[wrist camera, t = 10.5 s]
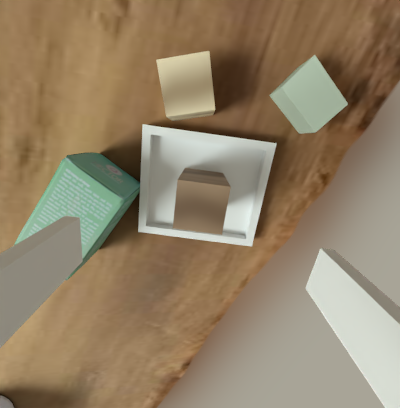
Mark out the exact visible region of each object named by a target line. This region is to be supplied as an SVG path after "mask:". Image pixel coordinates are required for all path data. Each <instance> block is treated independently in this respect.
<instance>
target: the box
mask: <svg viewBox="0 0 400 408" xmlns="http://www.w3.org/2000/svg"><path fill="white" fill-rule="evenodd" d="M139 192H140V182H138V181H137V180H136V179H134V178H133V177H132V176H130V175H129V174H128V173H126V172H125V171H123V170H122V169H121V168H119V167H118V166H116V165H115V164H114V163H112V162H111V161H110V160H108V159H107V158H106V157H105V156H103V155H101V154H99V153H81V154H74V155H67V157H66V158H64V159H63V160H62V162H61V164H60V165H59V167H58V169H57V171H56V173H55V175H54V176H53V178H52V180H51V182H50V184H49V185H48V187H47V189H46V191H45V192H44V194H43V196H42V197H41V199H40V201H39V203H38V204H37V206H36V208H35V209H34V211H33V213H32V214H31V216H30V218H29V220H28V221H27V223H26V225H25V226H24V228H23V230H22V231H21V233H20V235H19V236H18V238H17V240H16V242H15V244H14V245H16V244H18V243H19V242H21V241H23V240H24V239H26V238H28V237H30V236H31V235H33V234H35V233H36V232H38V231H40V230H42V229H43V228H45V227H47V226H48V225H50V224H52V223H54V222H55V221H57V220H59V219H60V218H62V217H64V216H71V217H79V218H80V229H81V244H82V259H83V262H82V263H81V264H80V265H79V266H78V267H77V268H76V269H75V270H74V271H73V272H72V273H71V274H70V275H69V276H68V277H67V278H66V279H65V280H68V279H69V278H70V277H71V276H72V275H73V274H74V273H75V272H76V271H77V270H78V269H79V268H80V267H82V266H83V265H84V264H85V263H86V262H87V261H88V260H89V259H90V258H91V257H92V256H93V254H94V253H95V252H97V250H98V249H99V248H100V247H101V245H102V244H103V243H104V241H105V240H106V238H107V237H108V236H109V234H110V233H111V232H112V230H113V229H114V227H115V226H116V225H117V223H118V222H119V220H120V219H121V218H122V216H123V215H124V213H125V212H126V211H127V209H128V208H129V206H130V205H131V203H132V202H133V201H134V199H135V198H136V196H137V195H138V194H139Z"/></svg>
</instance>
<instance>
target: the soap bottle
mask: <svg viewBox="0 0 400 408" xmlns="http://www.w3.org/2000/svg"><path fill="white" fill-rule="evenodd" d="M0 408H14V407H13V403H12V402H11V401H10V400H9V399H7V398H6V397H4V396H1V395H0Z"/></svg>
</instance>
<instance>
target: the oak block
mask: <svg viewBox="0 0 400 408" xmlns="http://www.w3.org/2000/svg"><path fill="white" fill-rule="evenodd" d="M157 66H158V72H159V78H160V83H161V89H162V95H163V101H164V106H165V112H166V117H167V118H169V119H171V120H172V121H177V120H184V119H191V118H197V117H204V116H211V115H213V114H214V112H215V102H214V92H213V82H212V73H211V63H210V53H209V51H206V52H200V53H194V54H188V55H182V56H176V57H170V58H164V59H158V60H157Z"/></svg>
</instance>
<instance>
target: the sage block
mask: <svg viewBox="0 0 400 408" xmlns="http://www.w3.org/2000/svg"><path fill="white" fill-rule="evenodd" d="M270 97H271V98H272V99H273V101H274V102H275V103H276V104H277V106H278V107H279V108H280V110H281V111H282V112H283V113H284V115H285V116H286V117H287V119H288V120H289V121H290V122H291V124H292V125H293V126H294V128H295V129H296V130H297V131H298V133H299V134H300V133H315V132H317V131H318V130H319V129H320V128H321V127H322V126H324V125H325V124H326V123H327V122H328V121H329V120H330V119H332V118H333V117H334V116H335V115H336V114H337V113H339V112H340V111H341V110H342V109H343V108H344V107H345V106H347V105H348V103H347V101H346V100H345V98H344V97H343V96H342V94H341V93H340V91H339V90H338V88H337V87H336V85H335V84H334V82H333V81H332V79H331V78H330V76H329V75H328V74H327V72H326V71H325V69H324V68H323V66H322V65H321V63H320V62H319V60H318V59H317V57H316V56H315V55H314V56H313V57H311V58H310V59H309V60H307V61H306V62H305V63H303V64H302V65H301V66H299V67H298V68H297V69H296V70H295V71H294V72H293V73H292V74H291V75H290V76H289V77H288V78H287V79H286V80H285V81H284V82H283V83H282V84H280V85H279V86H278V87H277V88H276V89H275V90H274V91H273V92H272V93H271V94H270Z"/></svg>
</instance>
